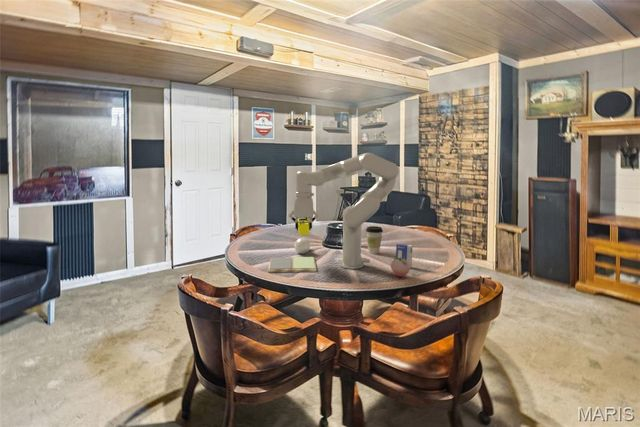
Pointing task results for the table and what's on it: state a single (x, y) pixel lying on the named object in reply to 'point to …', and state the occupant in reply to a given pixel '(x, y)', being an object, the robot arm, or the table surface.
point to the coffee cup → (374, 239)
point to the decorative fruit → (400, 267)
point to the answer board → (292, 264)
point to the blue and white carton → (404, 252)
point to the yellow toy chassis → (303, 227)
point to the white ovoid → (302, 245)
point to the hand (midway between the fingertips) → (303, 229)
